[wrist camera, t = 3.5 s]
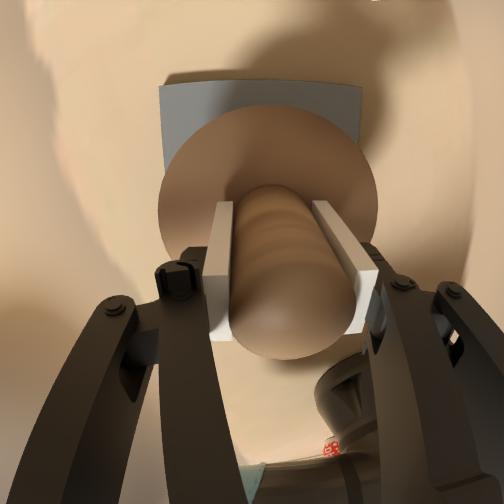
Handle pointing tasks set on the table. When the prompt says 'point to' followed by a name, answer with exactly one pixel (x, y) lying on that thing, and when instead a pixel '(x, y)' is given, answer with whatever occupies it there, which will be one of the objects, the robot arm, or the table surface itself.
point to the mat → (249, 94)
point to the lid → (273, 221)
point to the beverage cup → (331, 447)
